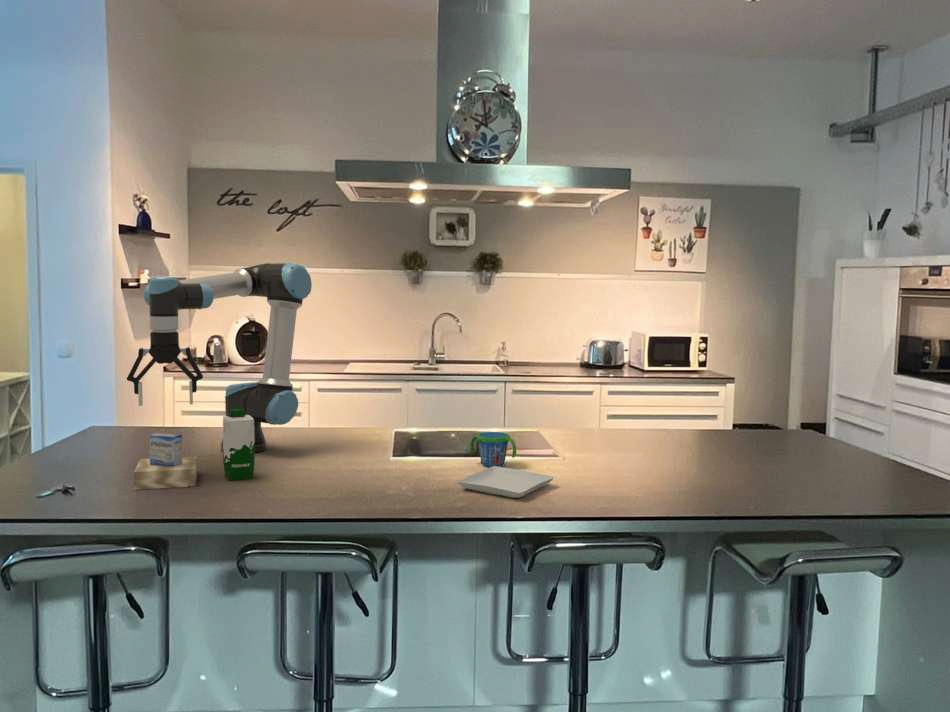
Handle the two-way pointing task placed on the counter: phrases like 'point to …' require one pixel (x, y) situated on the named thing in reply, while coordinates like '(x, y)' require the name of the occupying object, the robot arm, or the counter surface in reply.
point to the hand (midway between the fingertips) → (166, 404)
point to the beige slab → (165, 474)
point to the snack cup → (493, 448)
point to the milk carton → (238, 445)
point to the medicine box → (165, 449)
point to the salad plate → (505, 481)
